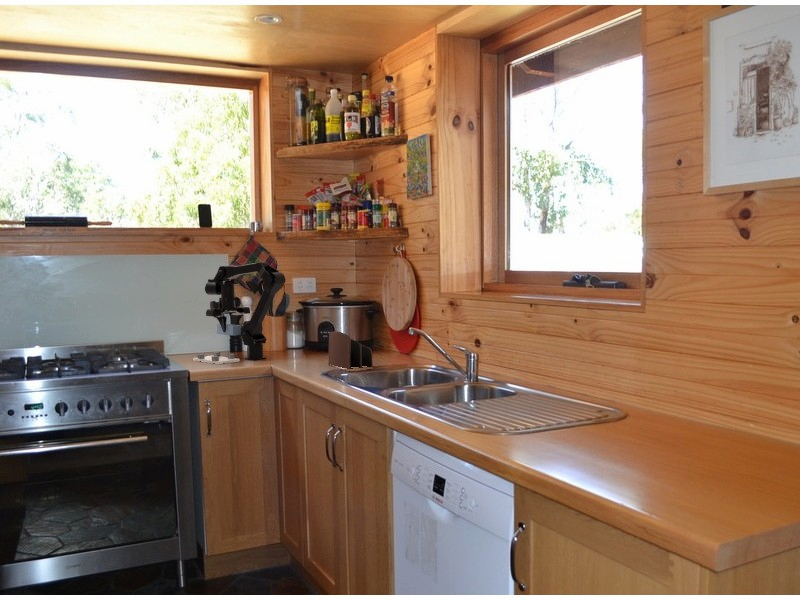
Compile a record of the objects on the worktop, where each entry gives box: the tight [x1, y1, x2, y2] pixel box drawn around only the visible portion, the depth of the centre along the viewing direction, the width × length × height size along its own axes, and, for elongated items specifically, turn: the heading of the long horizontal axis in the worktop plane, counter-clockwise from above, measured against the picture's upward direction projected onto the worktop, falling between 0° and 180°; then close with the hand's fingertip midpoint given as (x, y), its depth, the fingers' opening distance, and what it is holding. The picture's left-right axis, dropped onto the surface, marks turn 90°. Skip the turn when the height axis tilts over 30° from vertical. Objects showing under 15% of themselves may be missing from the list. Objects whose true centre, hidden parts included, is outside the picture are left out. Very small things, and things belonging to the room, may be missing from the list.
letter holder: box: [327, 330, 374, 369], centre depth 275 cm, size 10×20×14 cm, turn 28°
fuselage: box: [215, 323, 242, 336], centre depth 306 cm, size 14×4×4 cm, turn 47°
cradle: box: [192, 351, 241, 365], centre depth 296 cm, size 18×10×3 cm, turn 49°
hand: (229, 331), depth 306 cm, fingers closed on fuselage, 4 cm apart
